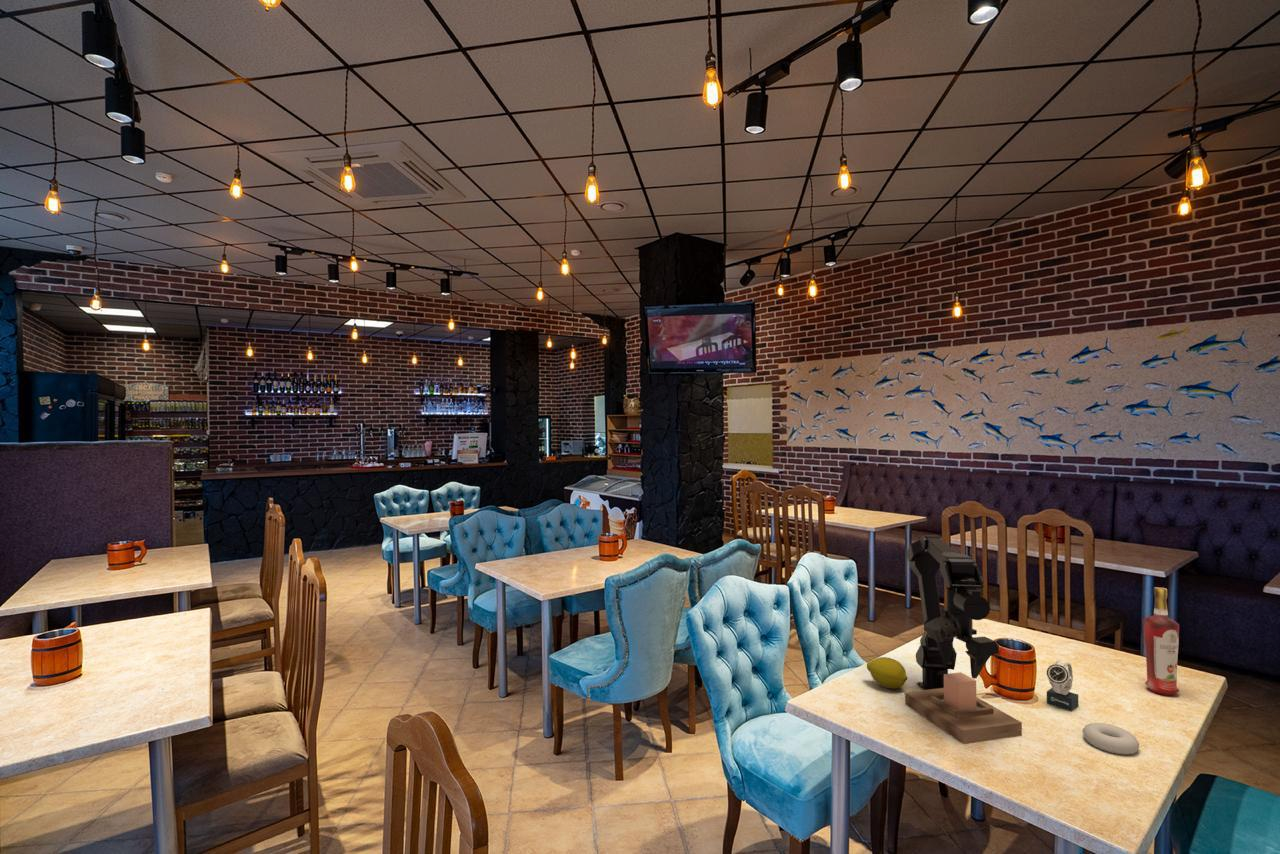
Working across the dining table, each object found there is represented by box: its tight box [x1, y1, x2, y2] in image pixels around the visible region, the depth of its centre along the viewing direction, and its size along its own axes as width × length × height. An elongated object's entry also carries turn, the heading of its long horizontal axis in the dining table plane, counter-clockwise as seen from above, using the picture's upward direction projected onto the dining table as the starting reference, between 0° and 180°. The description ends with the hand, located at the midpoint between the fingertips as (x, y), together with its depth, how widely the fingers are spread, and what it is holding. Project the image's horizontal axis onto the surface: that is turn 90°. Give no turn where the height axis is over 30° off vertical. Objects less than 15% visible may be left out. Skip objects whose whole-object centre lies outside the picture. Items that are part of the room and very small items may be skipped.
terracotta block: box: [944, 671, 977, 711], centre depth 144 cm, size 5×5×7 cm
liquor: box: [1142, 586, 1180, 696], centre depth 158 cm, size 7×7×28 cm
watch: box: [1046, 660, 1079, 712], centre depth 151 cm, size 6×8×11 cm
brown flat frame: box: [904, 688, 1023, 744], centre depth 144 cm, size 20×16×4 cm
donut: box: [1082, 722, 1140, 756], centre depth 132 cm, size 10×4×10 cm
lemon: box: [866, 656, 909, 690], centre depth 162 cm, size 11×8×8 cm
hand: (959, 670), depth 144 cm, fingers open, 9 cm apart
